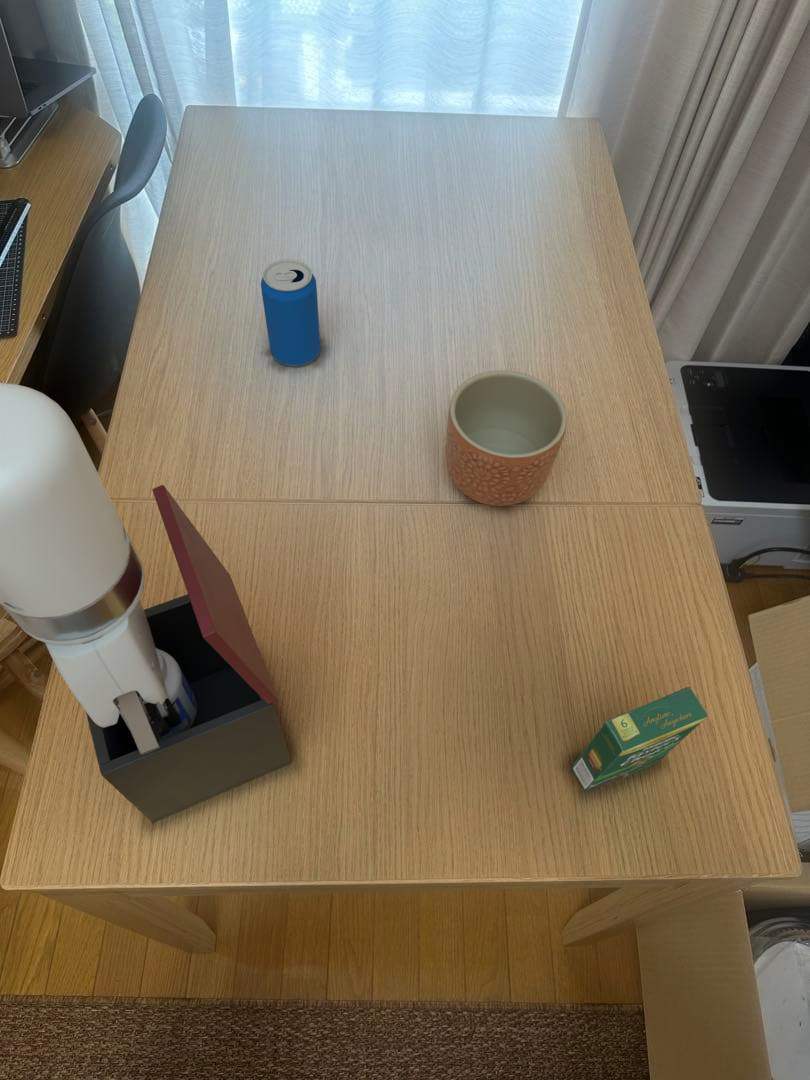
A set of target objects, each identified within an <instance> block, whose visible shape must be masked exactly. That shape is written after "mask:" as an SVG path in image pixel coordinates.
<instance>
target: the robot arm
mask: <svg viewBox="0 0 810 1080" xmlns="http://www.w3.org/2000/svg"><path fill="white" fill-rule="evenodd" d="M101 478H102V477H100V474H99V472H98V470H97V469H96V465H95V464H94V462H93V460H92V458H91V456H90V454H89V452H88V450H87V447H86V446H85V444H84V442H83V440H82V438H81V436H80V433H79V431H78V430H77V427H75V425H74V423H73V421H72V420H71V418H70V416H69V415H68V414H67V412H66V411H65V410H64V409H63V408H62V407H61V405H60V404H59V403H57V402H56V401H55V400H53V399H52V398H50V397H49V396H48V395H46V394H45V393H43V392H41V391H39V390H36V389H34V388H32V387H28V386H25V385H22V384H21V385H20V384H17V383H7V382H0V606H1V607H2V608H3V609H4V610H5V611H6V612H7V613H8V615H9V616H10V617H11V619H13V620H14V622H15V623H16V624H17V625H18V626H19V628H20V629H22V631H24V632H25V633H26V634H27V635H28V636H30V637H32V638H33V639H35V640H37V641H40V642H42V643H45V646H46V648H47V650H48V652H49V655H50V657H51V659H52V661H53V663H54V665H55V667H56V668H57V671H58V672H59V675H60V676H61V678H62V679H63V681H64V683H65V684H66V685H67V687H68V689H69V690H70V691H71V693H72V695H73V697H75V699H76V701H77V702H78V703H79V705H80V706H81V707H82V708H83V710H84V712H85V713H86V712H87V714H88V715H89V716H90V718H91V719H92V720H93V721H94V722H95V723H96V724H97V725H98V726H100V727H103V728H104V727H108V726H111V725H114V724H116V723H117V721H118V718H119V714H121V716H122V718H123V719H124V721H125V723H126V725H127V727H128V728H129V730H130V731H131V733H132V735H133V738H134V740H135V742H136V745H137V747H138V749H139V752H140V754H141V755H143V754H146V753H148V752H151V751H153V750H156V749H158V748H160V737H162V736H164V735H166V734H168V733H169V732H170V728H172V727H175V726H177V725H179V724H180V723H181V720H180V716H179V715H178V713H177V711H176V710H175V708H174V706H173V705H172V703H171V702H170V700H169V698H168V699H167V698H166V697H167V691H166V687H165V683H164V679H163V675H162V671H161V667H160V663H159V659H158V656H157V652H156V648H157V649H159V648H158V646H157V644H156V642H155V640H154V639H153V637H152V634H151V631H150V627H149V624H148V621H147V618H146V615H145V612H144V610H145V608H144V607H143V604H142V601H141V598H142V595H143V592H144V587H145V582H146V573H145V567H144V564H143V561H142V559H141V557H140V555H139V553H138V552H137V549H136V547H135V545H134V543H133V540H132V538H131V537H130V535H129V533H128V531H127V529H126V527H125V524H124V523H123V520H122V519H121V516H120V515H119V513H118V511H117V509H116V507H115V505H114V502H113V500H112V499H111V496H110V494H109V492H108V490H107V489H106V486H105V485H104V483H103V480H102V479H101ZM155 647H156V648H155ZM143 701H145V702H149V703H146V704H144V703H143ZM87 714H86V715H87Z"/></svg>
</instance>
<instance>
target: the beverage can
mask: <svg viewBox="0 0 810 1080" xmlns="http://www.w3.org/2000/svg"><path fill="white" fill-rule="evenodd" d="M312 271H313V270H312V268H311V267H310V266H309V265H308V264H307V263H305V262H304V261H302V260H300V259H294V258H283V259H278V260H274V261H273V262H271V263H269V264H268V265H267V266H266V267H265V268H264V270H263V273H262V277H261V281H260V290H261V295H262V303H263V310H264V317H265V318H264V319H265V324H266V331H267V339H268V344H269V351H270V355H271V356H272V358H274V360H276V361H277V362H278V363H280V364H282V365H286V366H291V367H299V366H304V365H307V364H309V363H311V362H313V361H314V360H316V359H317V358H318V356H320V353H321V350H322V344H321V331H320V318H319V302H318V301H319V300H318V288H317V280H316V277H315V275H314V274H313V272H312Z"/></svg>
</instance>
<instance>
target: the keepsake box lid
mask: <svg viewBox="0 0 810 1080" xmlns="http://www.w3.org/2000/svg"><path fill="white" fill-rule="evenodd" d="M152 493H153V496H154V499H155V502H156V505H157V508H158V511H159V514H160V517H161V520H162V522H163V525H164V528H165V531H166V534H167V536H168V540H169V543H170V545H171V549H172V552H173V555H174V557H175V561H176V563H177V566H178V569H179V572H180V575H181V577H182V580H183V584H184V588H185V589H186V592H187V594H188V595H189V598H190V601H191V604H192V607H193V610H194V613H195V616H196V619H197V621H198V624H199V627H200V630H201V633H202V636H203V638H204V639H205V640H206V641H207V642H208V643H209V644H210V645H211V646H212V647H213V648H214V649H215V650H216V651H217V652H218V653H219V654H220V655H221V656H222V657H223V658H224V659H225V660H226V661H227V662H228V663H229V665H230V666H231V667H232V668H233V669H234V670H235V671H236V672H237V673H238V674H239V675H240V676H241V677H242V678H243V679H244V680H245V681H246V682H247V683H248V684H249V685H250V686H251V687H252V688H253V689H254V690H255V691H256V692H257V693H258V694H259V695H260V696H261V697H262V698H263V699H264V701H265V702H266V703H267V704H271V703H275V702H277V701H278V700H279V699H278V695H277V693H276V690H275V688H274V685H273V683H272V680H271V678H270V675H269V673H268V669H267V667H266V665H265V662H264V660H263V657H262V654H261V651H260V649H259V646H258V644H257V641H256V638H255V636H254V633H253V631H252V628H251V625H250V623H249V620H248V617H247V616H246V613H245V610H244V607H243V605H242V602H241V600H240V599H241V598H240V597H239V595H238V591H237V589H236V586H235V584H234V581H233V578H232V576H231V574H230V573H229V572H228V570H227V569H226V567H225V566H224V565H223V564H222V562H221V561H220V559H219V558H218V557H217V555H216V554H215V552H214V551H213V550H212V548H211V547H210V546H209V544H208V543H207V542H206V540H205V539H204V538H203V536H202V534H200V532H199V531H198V529H197V528H196V527H195V526H194V524H193V522H192V521H191V520H190V519H189V517H188V516H187V515H186V513H185V512H184V510H183V509H182V508H181V506H180V505H179V504H178V502H177V500H175V499H174V497H173V496H172V494H171V492H169V490H168V489H167V487H166V486H165V485H164V484H159V486H156V487H154V488H152Z"/></svg>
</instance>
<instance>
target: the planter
mask: <svg viewBox="0 0 810 1080" xmlns="http://www.w3.org/2000/svg"><path fill="white" fill-rule="evenodd" d="M446 421H447V422H446V423H447V424H446V440H445V450H444V453H445V454H444V455H445V465H446V469H447V472H448V475H449V477H450V479H451V480H452V482H453V483H454V485H455V486H456V487H457V489H458V490H460V492H461V493H462V494H464V495H465V496H467V497H468V498H470V499H472V500H473V501H476V502H478V503H481V504H484V505H487V506H493V507H506V506H512V505H517V504H520V503H522V502H524V501H525V502H526V501H527V500H528V499H530V498H531V497H533V496H534V495H535V494H537V493H538V491H540V490H541V488H542V487H543V486H544V485H545V483H546V481H547V480H548V478H549V476H550V474H551V471H552V468H553V466H554V463H555V461H556V458H557V456H558V453H559V451H560V449H561V446H562V445H563V441H564V439H565V435H566V431H567V428H568V427H567V426H568V414H567V409H566V406H565V404H564V402H563V400H562V399H561V397H560V396H559V394H558V393H557V392H556V391H555V390H554V389H553V388H552V387H551V386H550V385H548V384H547V383H545V382H544V381H543V380H541V379H539V378H537V377H535V376H533V375H530V374H527V373H525V372H520V371H515V370H508V369H507V370H500V369H499V370H489V371H485V372H481V373H478V374H475V375H473V376H471V377H470V378H468V379H466V380H465V381H463V382H462V383H461V384H460V385H459V386H458V387H457V389H456V390H455V391H454V393H453V395H452V397H451V400H450V402H449V406H448V412H447V420H446Z"/></svg>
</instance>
